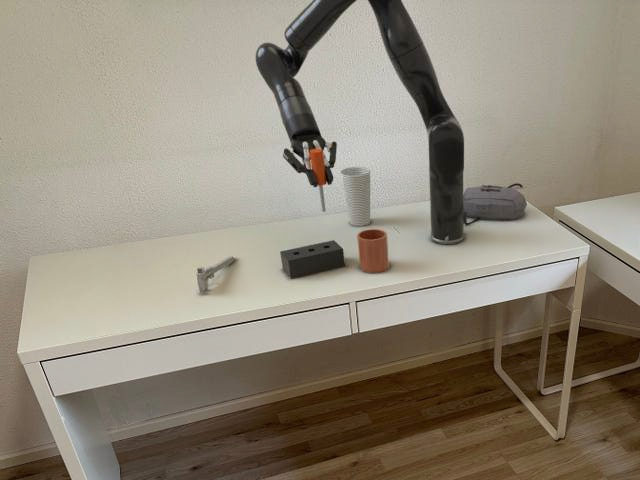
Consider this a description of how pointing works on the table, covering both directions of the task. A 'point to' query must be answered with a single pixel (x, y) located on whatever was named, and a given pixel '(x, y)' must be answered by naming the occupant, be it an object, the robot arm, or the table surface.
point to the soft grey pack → (493, 202)
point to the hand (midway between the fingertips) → (323, 184)
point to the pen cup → (373, 250)
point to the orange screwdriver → (319, 172)
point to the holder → (312, 259)
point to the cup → (357, 194)
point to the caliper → (210, 273)
